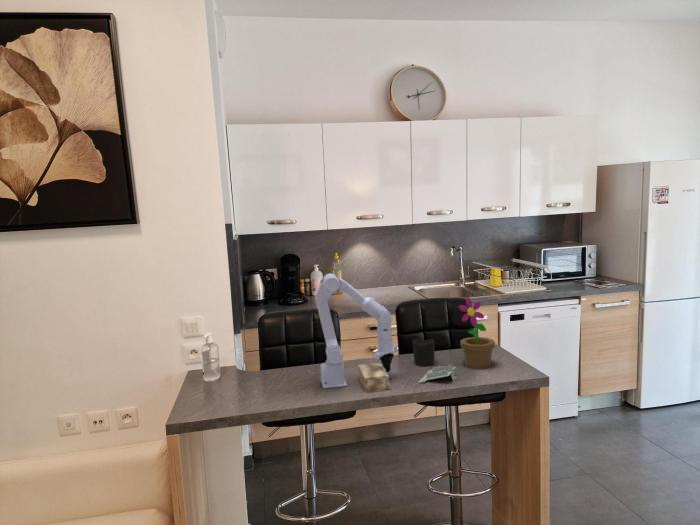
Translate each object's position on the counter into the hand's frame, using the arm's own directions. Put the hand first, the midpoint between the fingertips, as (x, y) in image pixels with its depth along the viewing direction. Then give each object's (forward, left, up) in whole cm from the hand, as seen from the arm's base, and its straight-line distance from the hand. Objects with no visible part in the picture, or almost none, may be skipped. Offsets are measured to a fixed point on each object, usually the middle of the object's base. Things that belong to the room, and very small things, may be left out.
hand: (387, 371), depth 195 cm
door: (-2, +1, -3) cm, 4 cm away
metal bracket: (+20, -5, -4) cm, 21 cm away
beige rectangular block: (-7, -3, -3) cm, 8 cm away
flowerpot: (+41, +6, -3) cm, 42 cm away
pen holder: (+20, +15, -3) cm, 25 cm away
